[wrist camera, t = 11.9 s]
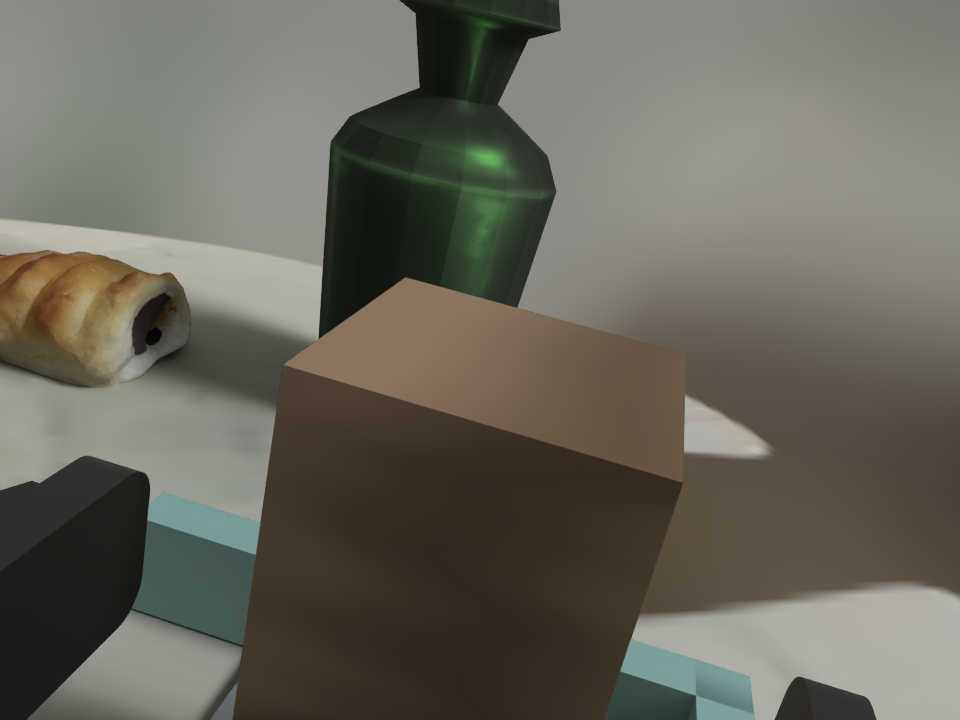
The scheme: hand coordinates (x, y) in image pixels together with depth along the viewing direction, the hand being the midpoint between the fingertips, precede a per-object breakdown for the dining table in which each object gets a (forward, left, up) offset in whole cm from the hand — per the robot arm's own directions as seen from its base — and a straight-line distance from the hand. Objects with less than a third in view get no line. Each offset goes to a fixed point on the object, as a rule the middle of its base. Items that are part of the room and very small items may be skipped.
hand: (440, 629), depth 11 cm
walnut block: (0, +2, -7) cm, 8 cm away
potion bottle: (-6, +22, -8) cm, 24 cm away
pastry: (-19, +19, -8) cm, 28 cm away
